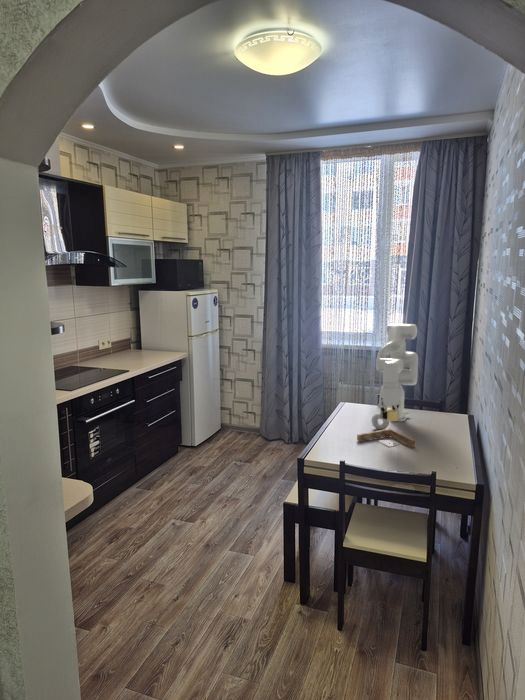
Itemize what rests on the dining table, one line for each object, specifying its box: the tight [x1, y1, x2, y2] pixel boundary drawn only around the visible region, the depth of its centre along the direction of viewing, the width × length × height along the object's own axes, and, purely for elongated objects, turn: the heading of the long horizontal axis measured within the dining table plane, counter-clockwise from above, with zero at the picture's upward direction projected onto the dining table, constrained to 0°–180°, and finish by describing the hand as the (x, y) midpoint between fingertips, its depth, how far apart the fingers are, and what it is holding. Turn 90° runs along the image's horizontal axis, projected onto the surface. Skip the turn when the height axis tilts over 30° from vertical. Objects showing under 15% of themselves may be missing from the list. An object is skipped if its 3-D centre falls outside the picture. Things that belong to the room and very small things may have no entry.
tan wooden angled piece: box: [356, 428, 416, 449], centre depth 245 cm, size 22×20×4 cm
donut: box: [371, 412, 390, 430], centre depth 267 cm, size 10×4×10 cm, turn 63°
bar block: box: [379, 407, 398, 423], centre depth 244 cm, size 8×5×5 cm, turn 24°
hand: (389, 417), depth 244 cm, fingers closed on bar block, 5 cm apart
